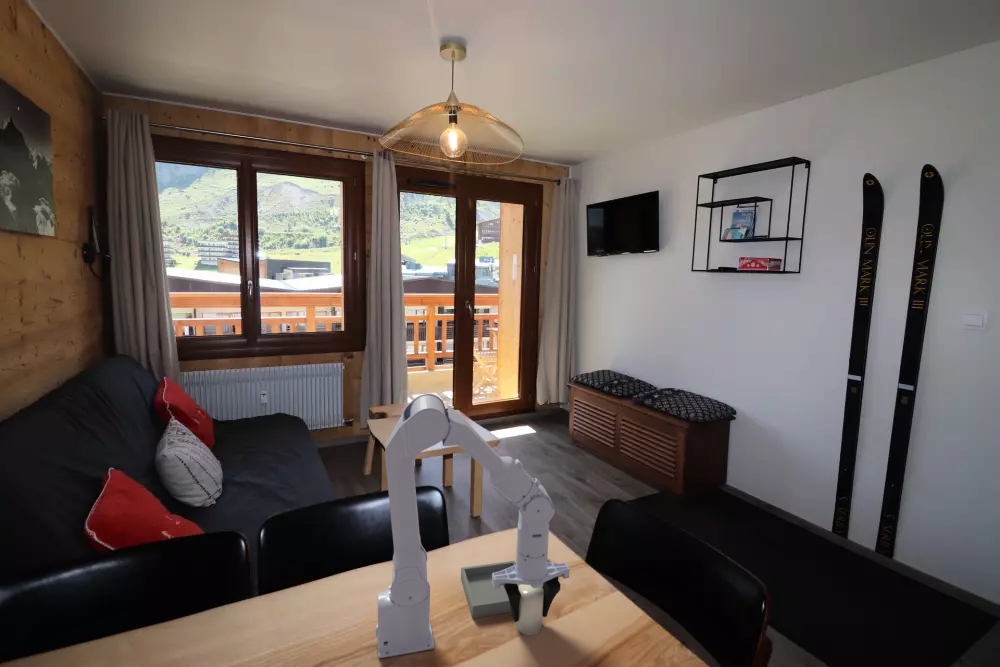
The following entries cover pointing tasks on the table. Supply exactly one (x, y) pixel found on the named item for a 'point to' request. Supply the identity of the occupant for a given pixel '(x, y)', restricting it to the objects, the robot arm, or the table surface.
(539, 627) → the capsule
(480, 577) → the tray
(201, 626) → the table surface
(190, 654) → the table surface
